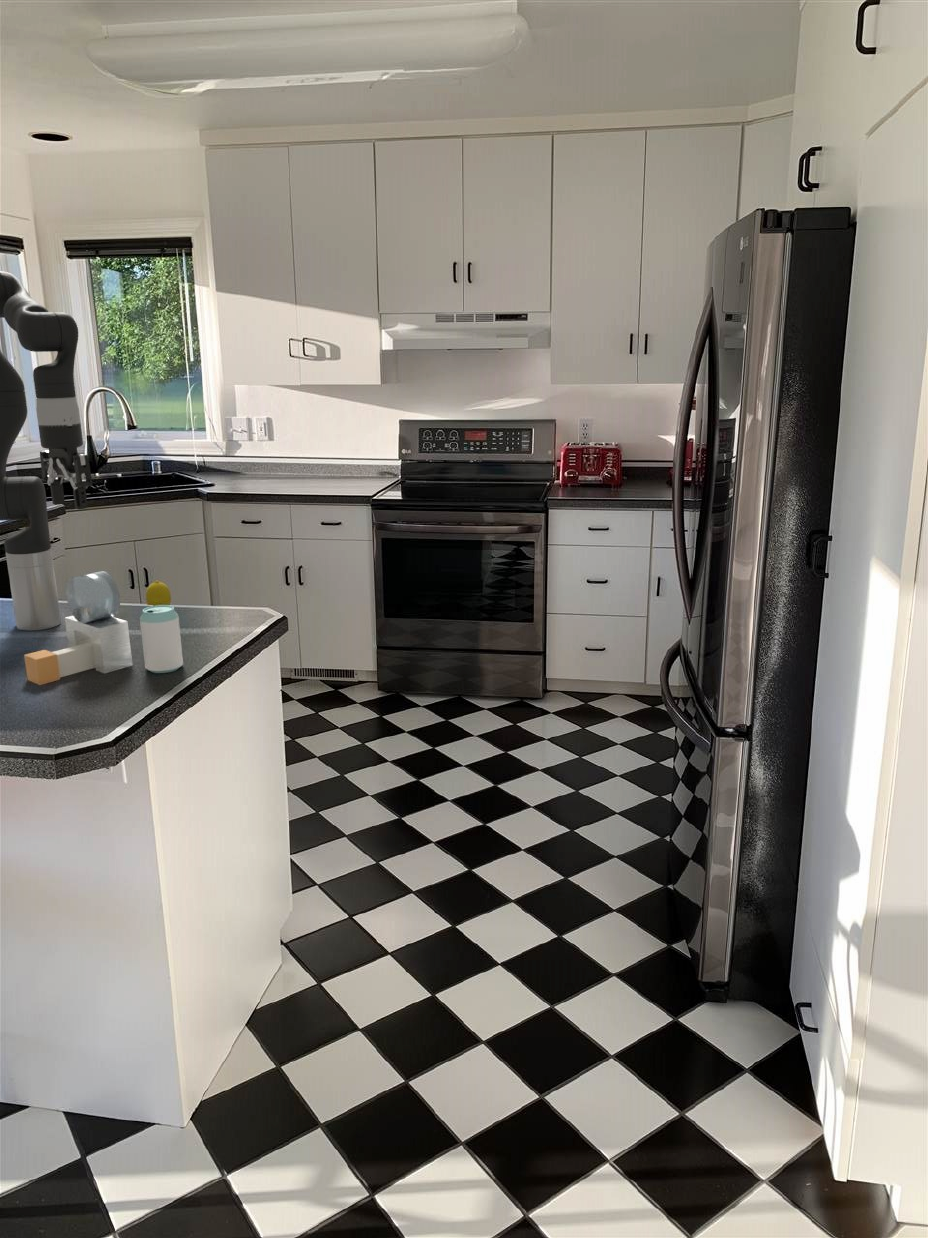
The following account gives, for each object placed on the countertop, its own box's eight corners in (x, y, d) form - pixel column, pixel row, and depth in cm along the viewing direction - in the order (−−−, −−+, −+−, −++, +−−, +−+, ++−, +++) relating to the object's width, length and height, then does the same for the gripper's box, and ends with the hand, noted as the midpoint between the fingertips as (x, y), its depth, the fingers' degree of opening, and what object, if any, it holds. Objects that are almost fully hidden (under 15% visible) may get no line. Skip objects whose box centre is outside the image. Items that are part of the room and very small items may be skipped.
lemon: (165, 617, 222) (161, 584, 219) (143, 616, 223) (139, 583, 220) (176, 611, 227) (173, 578, 225) (155, 610, 228) (151, 577, 226)
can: (169, 675, 183) (162, 614, 179) (137, 672, 185) (131, 612, 182) (190, 664, 189) (184, 605, 186) (160, 661, 191) (153, 602, 188)
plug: (27, 680, 182) (24, 654, 180) (121, 654, 196) (118, 630, 195) (39, 685, 179) (36, 659, 178) (133, 658, 193) (130, 634, 192)
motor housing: (70, 661, 192) (58, 572, 187) (98, 653, 197) (87, 567, 192) (104, 673, 185) (93, 582, 180) (132, 665, 189) (122, 575, 184)
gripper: (21, 421, 186) (33, 505, 190) (59, 425, 177) (71, 512, 181) (58, 419, 191) (69, 500, 196) (97, 422, 183) (107, 507, 187)
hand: (70, 506), depth 189 cm, fingers open, 8 cm apart
